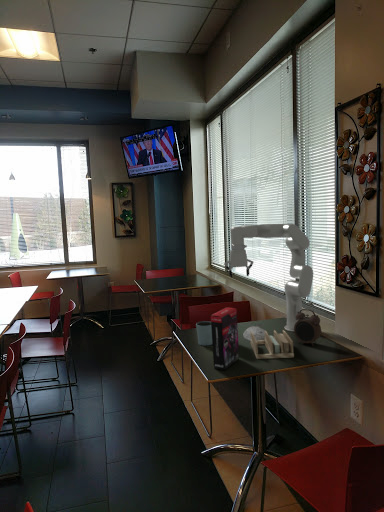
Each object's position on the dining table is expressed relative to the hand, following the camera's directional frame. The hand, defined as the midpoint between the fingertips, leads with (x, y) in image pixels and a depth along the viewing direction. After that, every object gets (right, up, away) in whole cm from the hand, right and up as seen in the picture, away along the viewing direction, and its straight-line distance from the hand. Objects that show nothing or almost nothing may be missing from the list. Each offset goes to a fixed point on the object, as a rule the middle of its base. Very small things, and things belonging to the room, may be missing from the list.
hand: (239, 276), depth 217 cm
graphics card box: (-11, -43, -31) cm, 54 cm away
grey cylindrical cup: (-20, -40, +1) cm, 45 cm away
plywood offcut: (+22, -40, -15) cm, 48 cm away
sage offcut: (+17, -40, -15) cm, 46 cm away
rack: (+16, -40, -15) cm, 45 cm away
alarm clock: (+38, -38, -8) cm, 54 cm away
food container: (+12, -38, +9) cm, 41 cm away
